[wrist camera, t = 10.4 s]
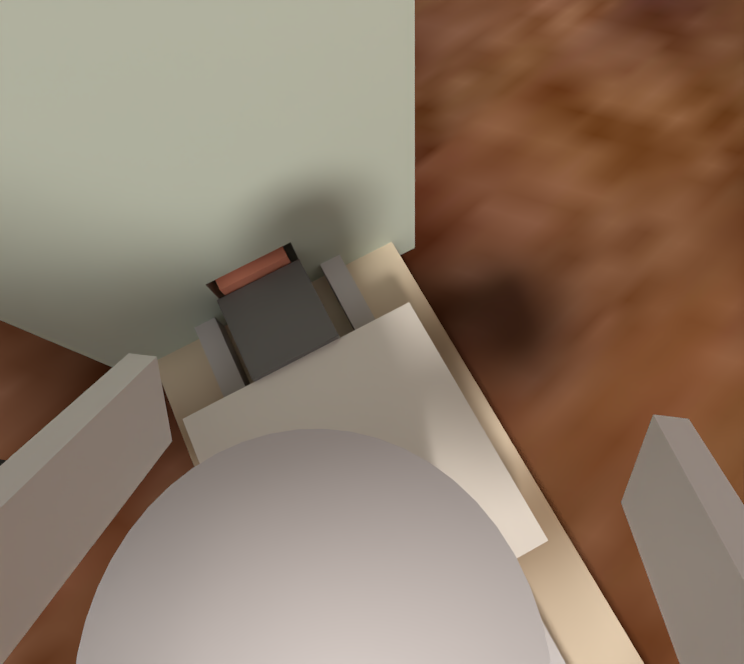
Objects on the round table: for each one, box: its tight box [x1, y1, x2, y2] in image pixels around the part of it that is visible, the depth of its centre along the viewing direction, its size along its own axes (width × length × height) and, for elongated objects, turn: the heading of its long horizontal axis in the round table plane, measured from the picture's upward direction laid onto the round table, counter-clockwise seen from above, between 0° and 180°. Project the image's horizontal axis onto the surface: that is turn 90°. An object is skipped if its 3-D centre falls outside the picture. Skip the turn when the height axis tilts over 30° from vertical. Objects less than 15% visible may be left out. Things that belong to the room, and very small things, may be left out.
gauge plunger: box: [216, 246, 291, 296], centre depth 18 cm, size 4×2×2 cm, turn 27°
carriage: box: [76, 259, 551, 664], centre depth 11 cm, size 11×8×12 cm
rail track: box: [157, 242, 644, 664], centre depth 17 cm, size 20×10×2 cm, turn 27°
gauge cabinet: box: [0, 0, 415, 367], centre depth 13 cm, size 5×12×17 cm, turn 117°
